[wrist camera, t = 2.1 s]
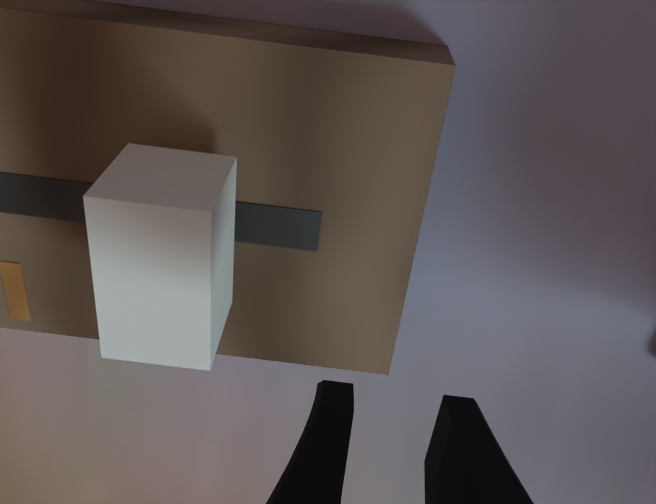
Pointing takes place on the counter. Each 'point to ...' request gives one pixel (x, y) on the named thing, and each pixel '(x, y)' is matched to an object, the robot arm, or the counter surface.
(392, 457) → the counter surface
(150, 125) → the brown flat slab
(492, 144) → the counter surface
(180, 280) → the fader
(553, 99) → the counter surface
